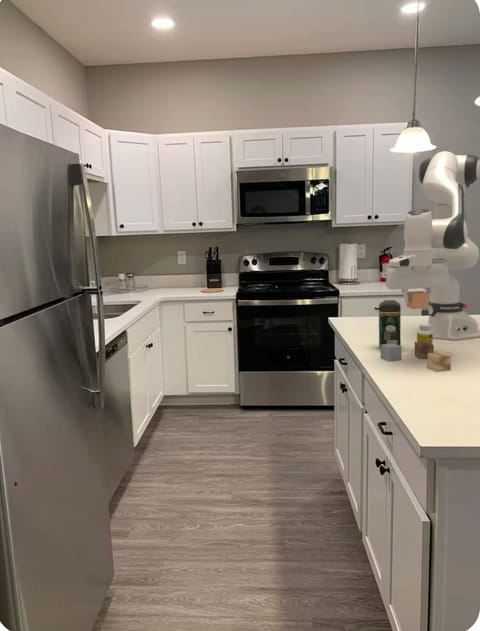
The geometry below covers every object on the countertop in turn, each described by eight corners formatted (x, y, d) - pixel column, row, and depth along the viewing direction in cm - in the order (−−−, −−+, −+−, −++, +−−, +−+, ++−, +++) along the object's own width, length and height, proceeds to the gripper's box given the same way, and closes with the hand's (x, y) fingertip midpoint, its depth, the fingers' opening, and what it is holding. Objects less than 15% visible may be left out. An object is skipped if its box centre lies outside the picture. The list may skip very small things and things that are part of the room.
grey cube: (392, 356, 174) (392, 343, 173) (401, 360, 170) (401, 346, 169) (380, 358, 173) (380, 344, 172) (389, 361, 168) (389, 347, 167)
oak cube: (440, 366, 160) (440, 351, 159) (450, 370, 155) (451, 355, 154) (427, 368, 159) (427, 353, 158) (437, 372, 154) (437, 356, 153)
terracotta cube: (420, 305, 164) (421, 291, 163) (427, 308, 159) (428, 293, 158) (406, 306, 164) (406, 292, 163) (412, 309, 159) (413, 294, 158)
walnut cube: (428, 355, 174) (429, 341, 173) (433, 358, 169) (433, 344, 168) (414, 355, 175) (414, 341, 174) (418, 359, 170) (419, 345, 169)
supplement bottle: (430, 353, 176) (431, 326, 175) (415, 351, 179) (415, 325, 178) (433, 349, 181) (434, 323, 179) (418, 348, 184) (419, 322, 182)
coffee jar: (378, 345, 191) (378, 298, 188) (399, 345, 189) (400, 298, 185) (378, 351, 182) (378, 302, 178) (400, 352, 180) (401, 302, 176)
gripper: (443, 257, 162) (442, 298, 165) (384, 261, 161) (384, 302, 163) (453, 258, 156) (452, 301, 159) (391, 262, 155) (391, 304, 157)
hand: (417, 301), depth 161 cm, fingers closed on terracotta cube, 5 cm apart
